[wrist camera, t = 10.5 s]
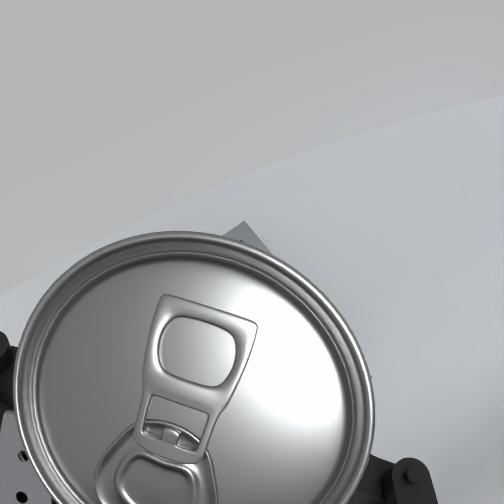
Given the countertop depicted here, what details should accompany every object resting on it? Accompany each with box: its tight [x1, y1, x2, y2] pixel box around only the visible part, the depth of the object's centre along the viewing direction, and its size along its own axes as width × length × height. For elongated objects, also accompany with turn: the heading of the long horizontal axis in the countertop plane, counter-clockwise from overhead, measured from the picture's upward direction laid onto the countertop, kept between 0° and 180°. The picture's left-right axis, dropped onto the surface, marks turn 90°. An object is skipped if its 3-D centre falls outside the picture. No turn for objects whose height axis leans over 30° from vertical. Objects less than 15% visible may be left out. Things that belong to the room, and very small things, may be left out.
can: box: [13, 231, 375, 504], centre depth 9 cm, size 6×6×12 cm
